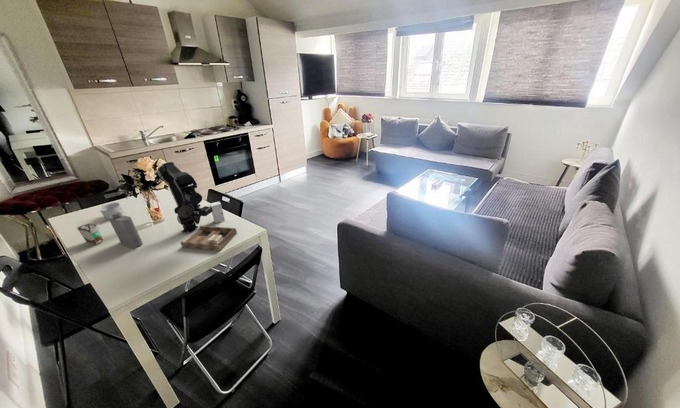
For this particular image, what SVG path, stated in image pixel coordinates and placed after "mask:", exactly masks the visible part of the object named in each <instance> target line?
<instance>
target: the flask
mask: <svg viewBox="0 0 680 408" xmlns="http://www.w3.org/2000/svg"><path fill="white" fill-rule="evenodd" d="M107 219H108V221H109V222H110V224H111V226H112V229H113V231H114V233H116V234H115V235H116V236H117V238H118V240H119V243H120V244H121V245H122V246H124V247H126V248H131V249H136V248H141V246H143V245H144V243H143V240H142V238H141V237H140V234H139V232H138V229H137V228H136V226H135V223H134V222H133V220H132V217H131V216H130V215H129V216H128V215H122V214H120V212H115V213H113V214H111V215H109V216H108V218H107Z"/></svg>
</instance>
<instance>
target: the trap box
mask: <svg viewBox="0 0 680 408" xmlns="http://www.w3.org/2000/svg"><path fill="white" fill-rule="evenodd" d="M237 234H238V231H237V228H236V227H235V228H234V227H224V226H212V225H211V226H210V225H200V226H199V229H198V230H197V231H195V232H194V233H193V234H192V235H191V236H190V237H189V238H187V239H186V240H185V241H183V240H181V241H180V246H181V248H183V249H192V250H193V249H194V250H202V251H203V250H204V251H213V252H222V250H223V249H224V248H225V247H226V246H227V245H228V244H229V243H230V242H231V241H232V240H233V238H234V237H235V236H236V235H237ZM213 235H222V237H223V239H222V240H221V241H220V242H219V243H218V245H217V244H209V241H208V239H209V238H211V237H212V236H213Z"/></svg>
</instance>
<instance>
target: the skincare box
mask: <svg viewBox="0 0 680 408" xmlns="http://www.w3.org/2000/svg"><path fill="white" fill-rule="evenodd" d="M209 207H212V210H213V211H212V212H211V214H212V217H213V221H214V223H215V224H217V223H221V222H225V221H226V219H225V215H224V212H223V211H224V210H223V207H222V203H221V201H216V202H212V203H209Z"/></svg>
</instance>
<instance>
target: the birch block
mask: <svg viewBox="0 0 680 408" xmlns="http://www.w3.org/2000/svg"><path fill="white" fill-rule="evenodd" d="M222 239H223V237H222V235H213V236H212V237H211V238H209V239H208V241H209V244H217V245H218V243H219V242H220V241H221V240H222Z"/></svg>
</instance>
